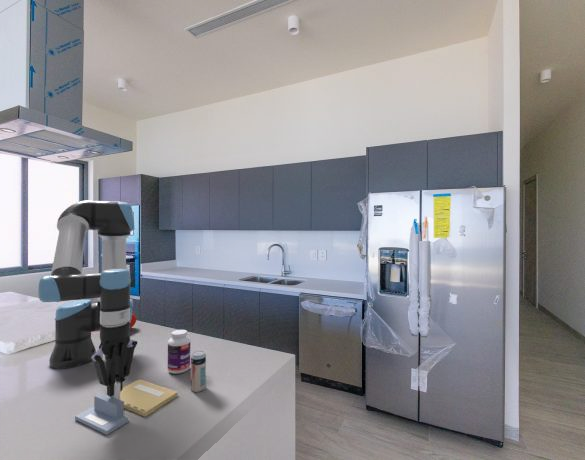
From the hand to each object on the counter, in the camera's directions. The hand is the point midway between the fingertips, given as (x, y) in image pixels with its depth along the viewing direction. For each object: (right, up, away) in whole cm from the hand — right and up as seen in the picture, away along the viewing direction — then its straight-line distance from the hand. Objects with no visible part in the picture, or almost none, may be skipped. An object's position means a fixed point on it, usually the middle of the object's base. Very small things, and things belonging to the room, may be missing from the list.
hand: (114, 404), depth 86 cm
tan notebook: (+4, -3, +8) cm, 9 cm away
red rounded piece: (-39, -2, +68) cm, 78 cm away
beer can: (+20, -3, +14) cm, 24 cm away
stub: (-2, -2, -3) cm, 4 cm away
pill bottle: (+8, -3, +27) cm, 28 cm away
